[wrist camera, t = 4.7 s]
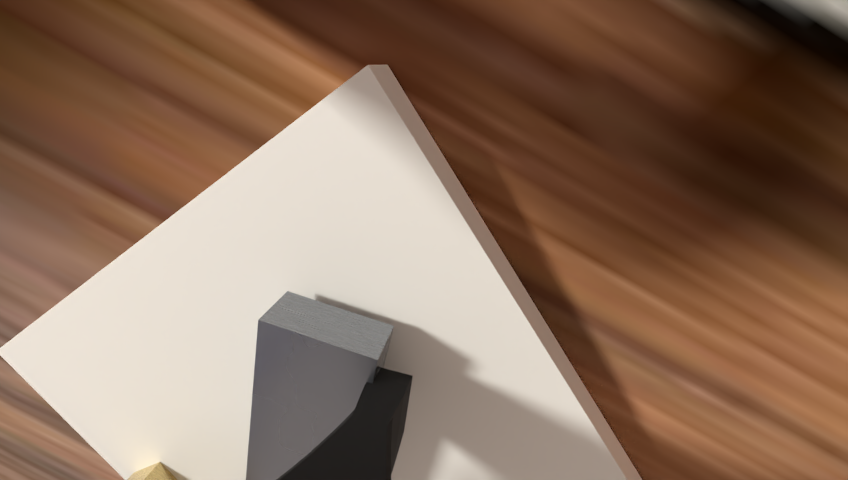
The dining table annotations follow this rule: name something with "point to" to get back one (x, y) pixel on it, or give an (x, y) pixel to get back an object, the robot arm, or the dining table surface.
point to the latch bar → (307, 378)
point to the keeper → (153, 473)
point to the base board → (329, 283)
